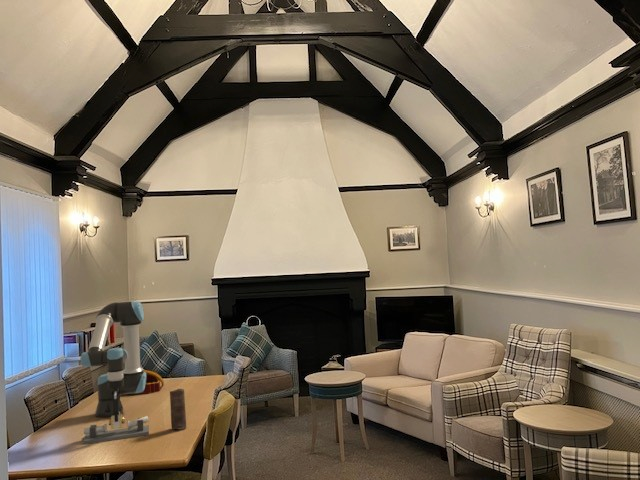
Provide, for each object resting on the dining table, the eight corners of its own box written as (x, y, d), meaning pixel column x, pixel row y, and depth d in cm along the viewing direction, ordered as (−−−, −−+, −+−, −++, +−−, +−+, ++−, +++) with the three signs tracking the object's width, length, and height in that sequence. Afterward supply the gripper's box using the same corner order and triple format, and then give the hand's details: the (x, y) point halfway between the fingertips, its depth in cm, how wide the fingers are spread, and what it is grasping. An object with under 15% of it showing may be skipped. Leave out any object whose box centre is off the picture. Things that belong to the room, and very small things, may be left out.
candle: (172, 432, 257) (171, 391, 258) (169, 428, 263) (168, 389, 265) (187, 429, 260) (186, 389, 262) (184, 425, 267) (183, 386, 268)
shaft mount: (83, 444, 245) (82, 427, 245) (86, 436, 256) (85, 420, 257) (149, 434, 254) (148, 418, 255) (149, 428, 266) (148, 412, 266)
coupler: (108, 429, 252) (108, 417, 252) (109, 427, 256) (109, 414, 257) (124, 427, 254) (124, 415, 255) (124, 425, 259) (124, 413, 259)
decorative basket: (106, 399, 343) (104, 378, 341) (124, 383, 372) (123, 363, 370) (155, 398, 341) (153, 377, 340) (170, 382, 370) (168, 362, 368)
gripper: (122, 382, 250) (124, 430, 248) (124, 375, 266) (125, 420, 265) (106, 383, 247) (107, 432, 246) (109, 377, 264) (110, 422, 262)
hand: (117, 426), depth 255 cm, fingers closed on coupler, 4 cm apart
